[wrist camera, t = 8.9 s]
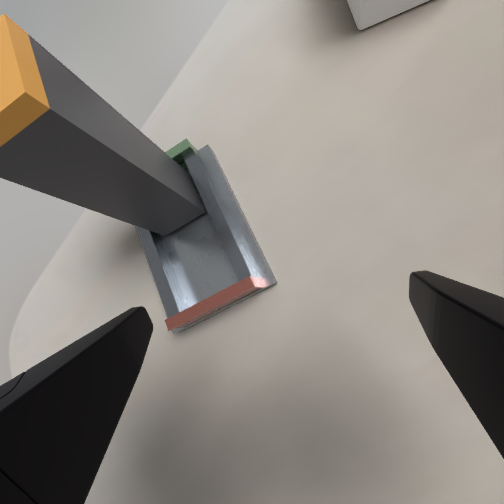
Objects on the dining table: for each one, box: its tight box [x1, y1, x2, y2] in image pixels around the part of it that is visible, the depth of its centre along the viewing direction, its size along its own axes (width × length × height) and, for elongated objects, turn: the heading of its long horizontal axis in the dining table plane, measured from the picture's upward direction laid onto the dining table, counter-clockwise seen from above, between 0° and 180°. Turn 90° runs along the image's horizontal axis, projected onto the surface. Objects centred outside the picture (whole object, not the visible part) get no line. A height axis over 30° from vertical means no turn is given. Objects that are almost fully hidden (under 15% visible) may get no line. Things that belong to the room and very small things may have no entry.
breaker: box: [0, 14, 205, 236], centre depth 16 cm, size 4×4×13 cm
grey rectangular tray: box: [135, 139, 277, 334], centre depth 21 cm, size 13×9×3 cm
